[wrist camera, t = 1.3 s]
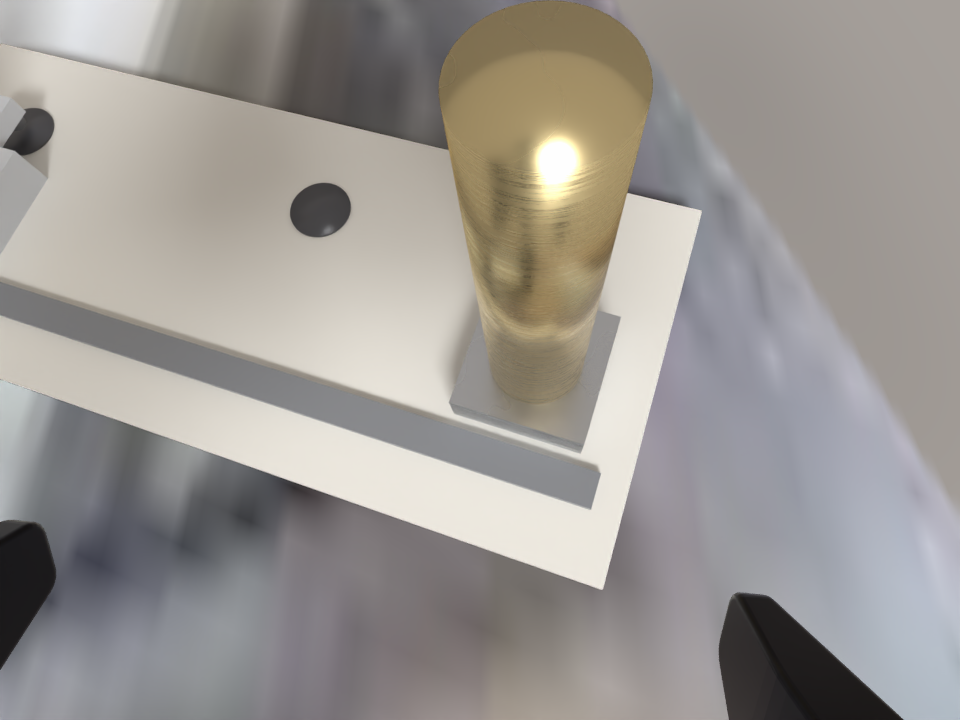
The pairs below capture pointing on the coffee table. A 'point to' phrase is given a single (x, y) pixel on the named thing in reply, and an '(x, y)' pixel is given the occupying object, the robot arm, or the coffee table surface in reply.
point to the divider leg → (541, 205)
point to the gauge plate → (300, 305)
